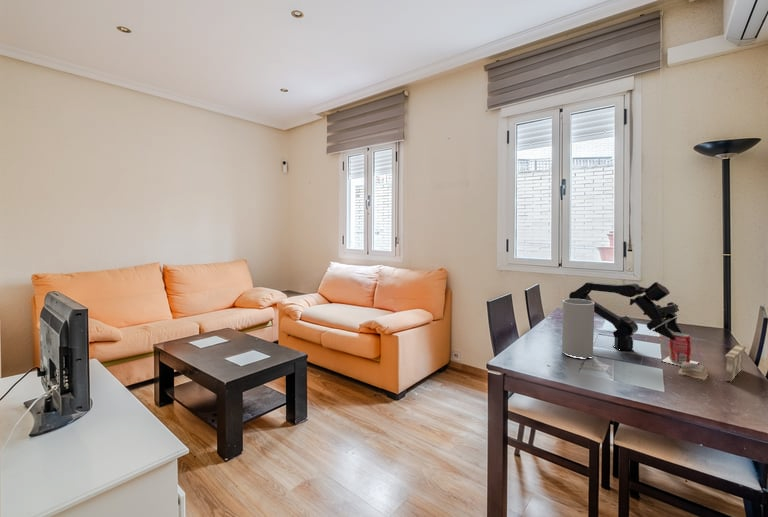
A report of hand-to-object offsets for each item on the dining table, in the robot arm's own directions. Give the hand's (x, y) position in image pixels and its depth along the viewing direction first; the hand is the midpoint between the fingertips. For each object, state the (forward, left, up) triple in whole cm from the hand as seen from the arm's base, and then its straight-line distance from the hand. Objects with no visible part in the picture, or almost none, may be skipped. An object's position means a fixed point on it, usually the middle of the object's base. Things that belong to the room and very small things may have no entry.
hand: (678, 337), depth 150 cm
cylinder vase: (-38, +5, -11) cm, 40 cm away
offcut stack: (-3, -14, -11) cm, 18 cm away
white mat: (+1, -1, -11) cm, 11 cm away
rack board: (+12, -13, -11) cm, 21 cm away
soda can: (0, -1, -11) cm, 11 cm away
